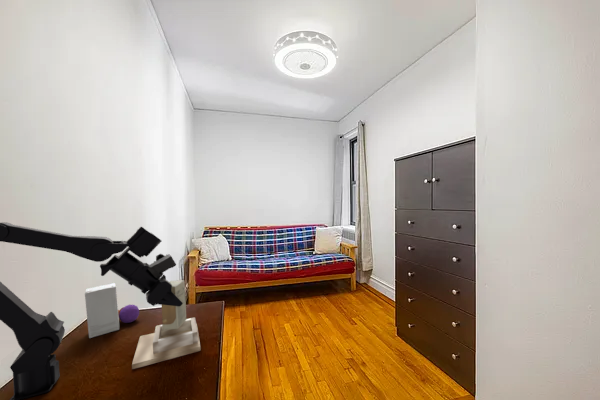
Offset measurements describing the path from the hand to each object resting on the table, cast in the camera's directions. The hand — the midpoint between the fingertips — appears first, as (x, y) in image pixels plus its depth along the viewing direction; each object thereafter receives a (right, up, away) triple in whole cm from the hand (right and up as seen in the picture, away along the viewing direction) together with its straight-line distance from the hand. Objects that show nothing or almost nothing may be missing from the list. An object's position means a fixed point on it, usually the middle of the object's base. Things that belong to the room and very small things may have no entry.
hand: (178, 301), depth 77 cm
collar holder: (-2, -12, -2) cm, 12 cm away
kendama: (-31, -14, +19) cm, 39 cm away
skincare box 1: (-29, -14, +9) cm, 34 cm away
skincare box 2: (-1, -7, -1) cm, 7 cm away
